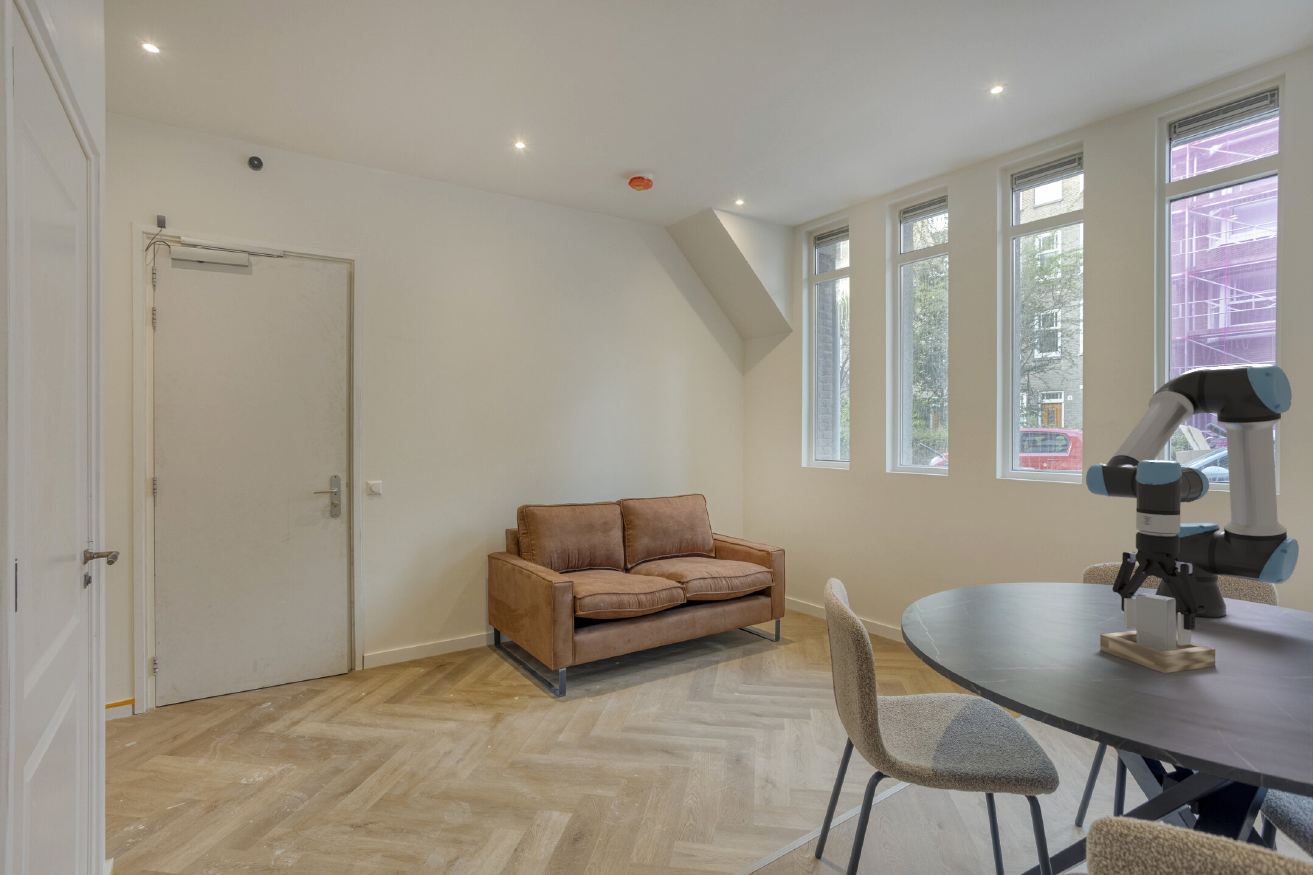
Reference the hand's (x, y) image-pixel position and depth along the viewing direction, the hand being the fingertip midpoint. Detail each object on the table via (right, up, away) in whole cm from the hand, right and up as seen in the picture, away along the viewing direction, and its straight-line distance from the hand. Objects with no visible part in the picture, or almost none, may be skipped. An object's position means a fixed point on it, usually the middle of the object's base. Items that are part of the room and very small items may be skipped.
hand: (1156, 635), depth 142 cm
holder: (0, -5, 0) cm, 5 cm away
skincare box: (0, -4, 0) cm, 4 cm away
